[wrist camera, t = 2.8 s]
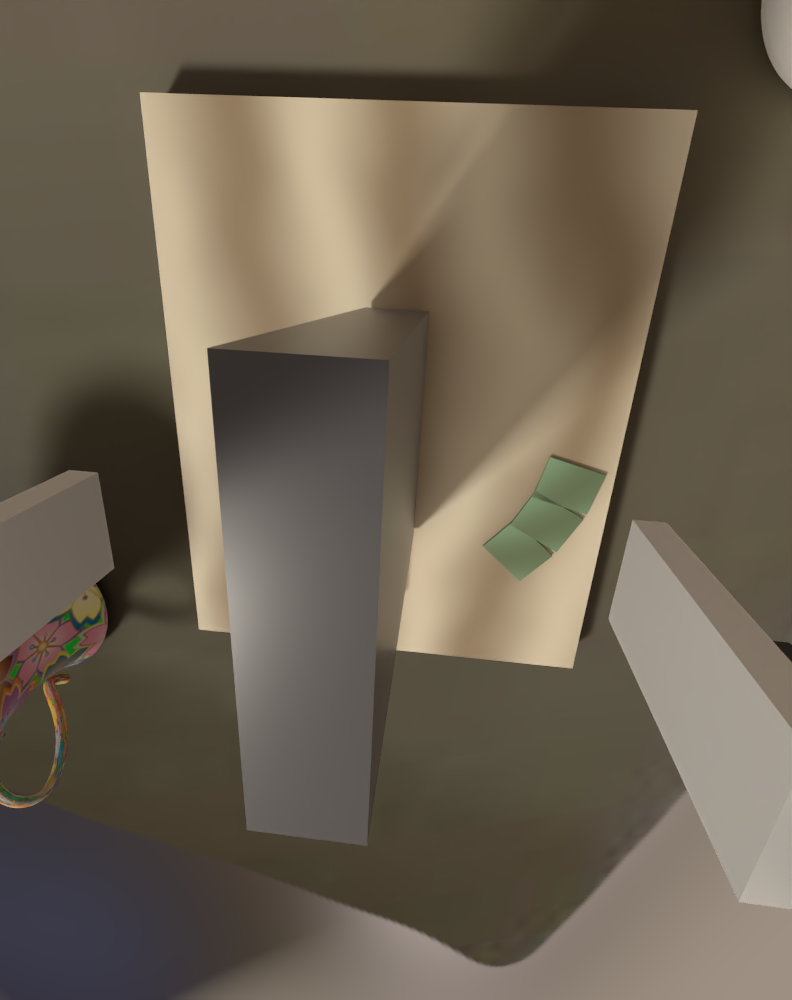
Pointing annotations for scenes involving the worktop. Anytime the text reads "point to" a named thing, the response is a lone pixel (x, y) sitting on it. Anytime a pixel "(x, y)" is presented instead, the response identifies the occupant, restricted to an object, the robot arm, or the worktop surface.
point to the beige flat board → (433, 319)
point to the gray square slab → (317, 554)
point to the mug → (39, 659)
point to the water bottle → (778, 36)
